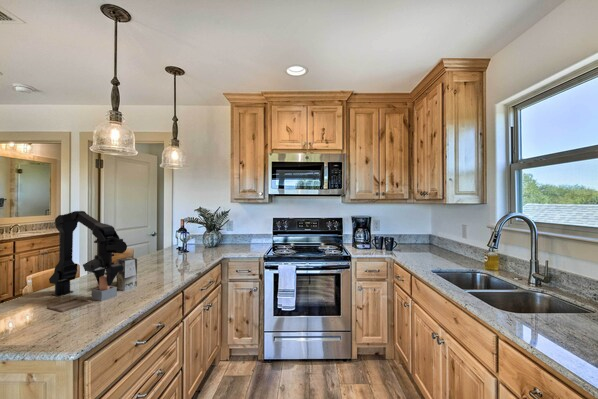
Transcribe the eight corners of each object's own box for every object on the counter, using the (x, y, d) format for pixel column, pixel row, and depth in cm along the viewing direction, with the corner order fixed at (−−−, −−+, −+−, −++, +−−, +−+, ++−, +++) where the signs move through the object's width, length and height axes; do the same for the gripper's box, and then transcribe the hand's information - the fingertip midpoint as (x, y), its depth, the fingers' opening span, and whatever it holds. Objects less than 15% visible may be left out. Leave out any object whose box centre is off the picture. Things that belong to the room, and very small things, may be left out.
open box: (91, 300, 126) (91, 289, 126) (107, 295, 133) (107, 285, 133) (101, 302, 124) (101, 291, 124) (116, 297, 130) (116, 287, 130)
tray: (46, 309, 115) (46, 306, 115) (76, 300, 126) (76, 297, 126) (62, 313, 111) (62, 310, 111) (92, 304, 122) (92, 300, 122)
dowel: (97, 298, 127) (97, 277, 127) (105, 295, 131) (106, 275, 131) (102, 299, 125) (103, 278, 126) (111, 296, 129) (111, 275, 129)
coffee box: (137, 288, 143) (137, 258, 143) (124, 292, 137) (124, 260, 137) (128, 285, 148) (129, 256, 148) (115, 289, 142) (116, 258, 142)
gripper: (73, 254, 124) (72, 287, 124) (99, 257, 117) (99, 293, 117) (98, 250, 134) (98, 281, 134) (124, 252, 128) (124, 285, 128)
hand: (104, 285), depth 128 cm, fingers open, 6 cm apart
